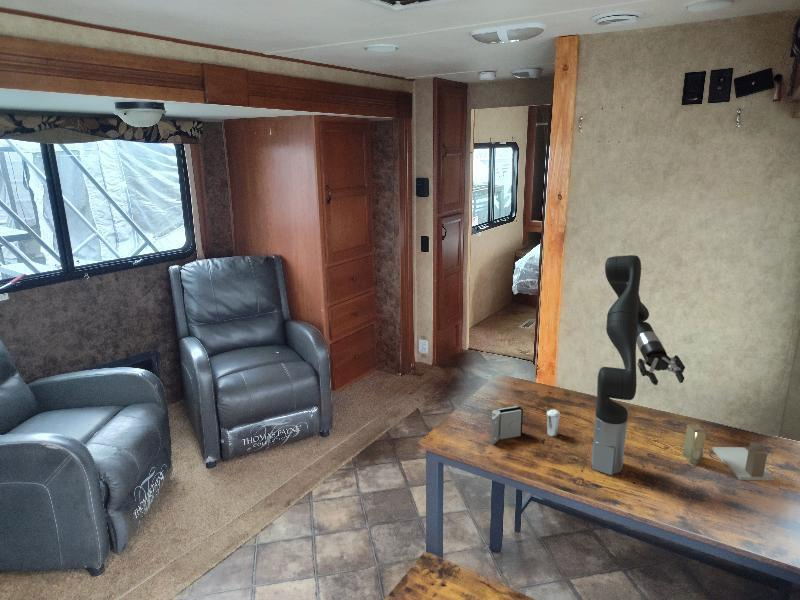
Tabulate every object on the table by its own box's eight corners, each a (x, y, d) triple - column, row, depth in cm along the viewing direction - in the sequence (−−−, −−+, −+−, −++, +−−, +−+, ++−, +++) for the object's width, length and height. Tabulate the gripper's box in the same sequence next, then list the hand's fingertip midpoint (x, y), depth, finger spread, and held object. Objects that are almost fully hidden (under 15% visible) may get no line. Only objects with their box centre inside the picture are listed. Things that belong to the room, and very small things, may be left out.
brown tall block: (683, 454, 174) (687, 424, 171) (693, 454, 174) (698, 424, 171) (692, 466, 168) (696, 435, 165) (703, 466, 168) (708, 435, 164)
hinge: (492, 445, 182) (492, 419, 179) (482, 438, 187) (483, 412, 184) (523, 435, 188) (524, 409, 185) (514, 428, 193) (514, 403, 190)
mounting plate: (712, 449, 176) (716, 422, 173) (743, 450, 176) (748, 422, 173) (739, 479, 160) (744, 450, 158) (774, 480, 160) (780, 451, 157)
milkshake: (546, 428, 192) (548, 403, 189) (560, 433, 188) (562, 408, 186) (541, 434, 188) (542, 408, 186) (555, 438, 185) (557, 413, 182)
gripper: (632, 341, 189) (650, 377, 178) (673, 338, 189) (693, 373, 177) (628, 355, 195) (645, 391, 183) (667, 352, 194) (687, 387, 182)
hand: (669, 382), depth 180 cm, fingers open, 8 cm apart
